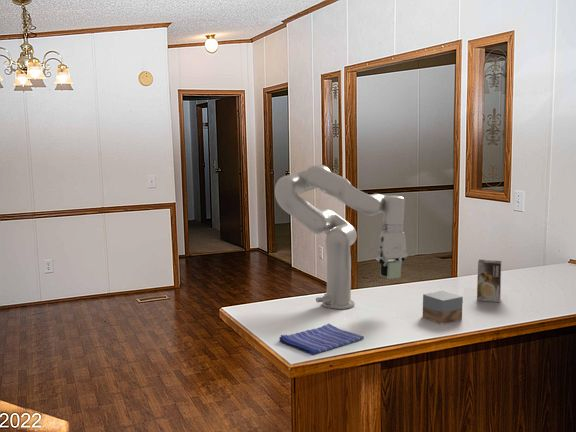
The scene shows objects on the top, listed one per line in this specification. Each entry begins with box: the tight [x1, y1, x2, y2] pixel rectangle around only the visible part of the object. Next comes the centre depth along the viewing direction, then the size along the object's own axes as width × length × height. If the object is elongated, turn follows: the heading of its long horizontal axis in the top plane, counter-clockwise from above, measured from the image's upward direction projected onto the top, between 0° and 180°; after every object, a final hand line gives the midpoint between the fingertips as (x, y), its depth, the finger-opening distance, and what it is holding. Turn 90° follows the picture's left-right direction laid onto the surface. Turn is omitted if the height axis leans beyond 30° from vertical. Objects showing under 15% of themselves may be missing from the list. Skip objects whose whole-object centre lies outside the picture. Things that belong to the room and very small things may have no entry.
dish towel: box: [278, 323, 365, 356], centre depth 203 cm, size 17×24×3 cm
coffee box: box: [476, 259, 502, 303], centre depth 253 cm, size 9×6×16 cm
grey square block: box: [422, 290, 464, 313], centre depth 227 cm, size 10×10×4 cm
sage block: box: [379, 259, 402, 280], centre depth 236 cm, size 6×6×6 cm
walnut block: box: [422, 306, 463, 325], centre depth 228 cm, size 10×10×4 cm
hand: (390, 274), depth 236 cm, fingers closed on sage block, 5 cm apart
